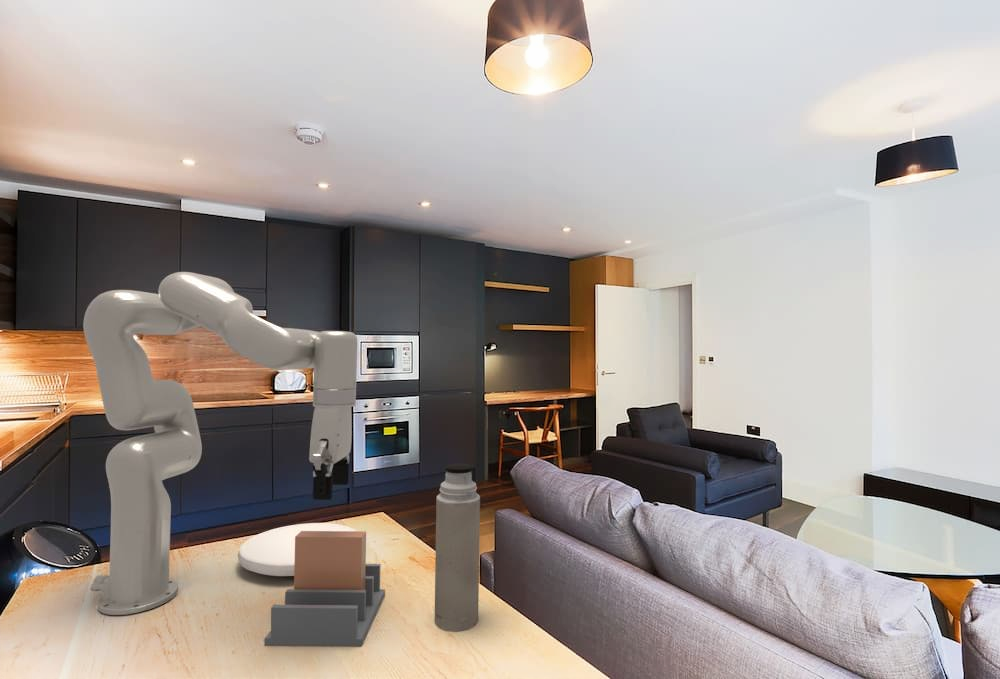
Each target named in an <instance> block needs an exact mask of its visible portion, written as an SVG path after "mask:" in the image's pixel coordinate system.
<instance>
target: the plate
mask: <svg viewBox="0 0 1000 679" xmlns="http://www.w3.org/2000/svg"><path fill="white" fill-rule="evenodd" d="M301 531H357V530H356V529H354V528H352V526H347V525H346V524H345V525H344V524H339V523H332V522H331V523H330V522H309V523H299V524H291V525H290V524H289V525H285V526H281V527H277V528H276V527H275V528H273V529H270V530H266V531H263V532H261V533H260V532H259V533H258V534H256V535H254V536H252V537H250V538H248V539H247V540H245V541H244V542H243V543H242V544H240V546H239V549H238V551H237V552H238V553H237V560H238V562H239V563H240V566H241V567H243V569H245V570H248V571H250V572H254V573H257V574H260V575H265V576H266V575H267V576H272V577H273V576H274V577H294V565H295V537H296V536H297V535H298V534H299V533H300V532H301Z"/></svg>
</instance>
